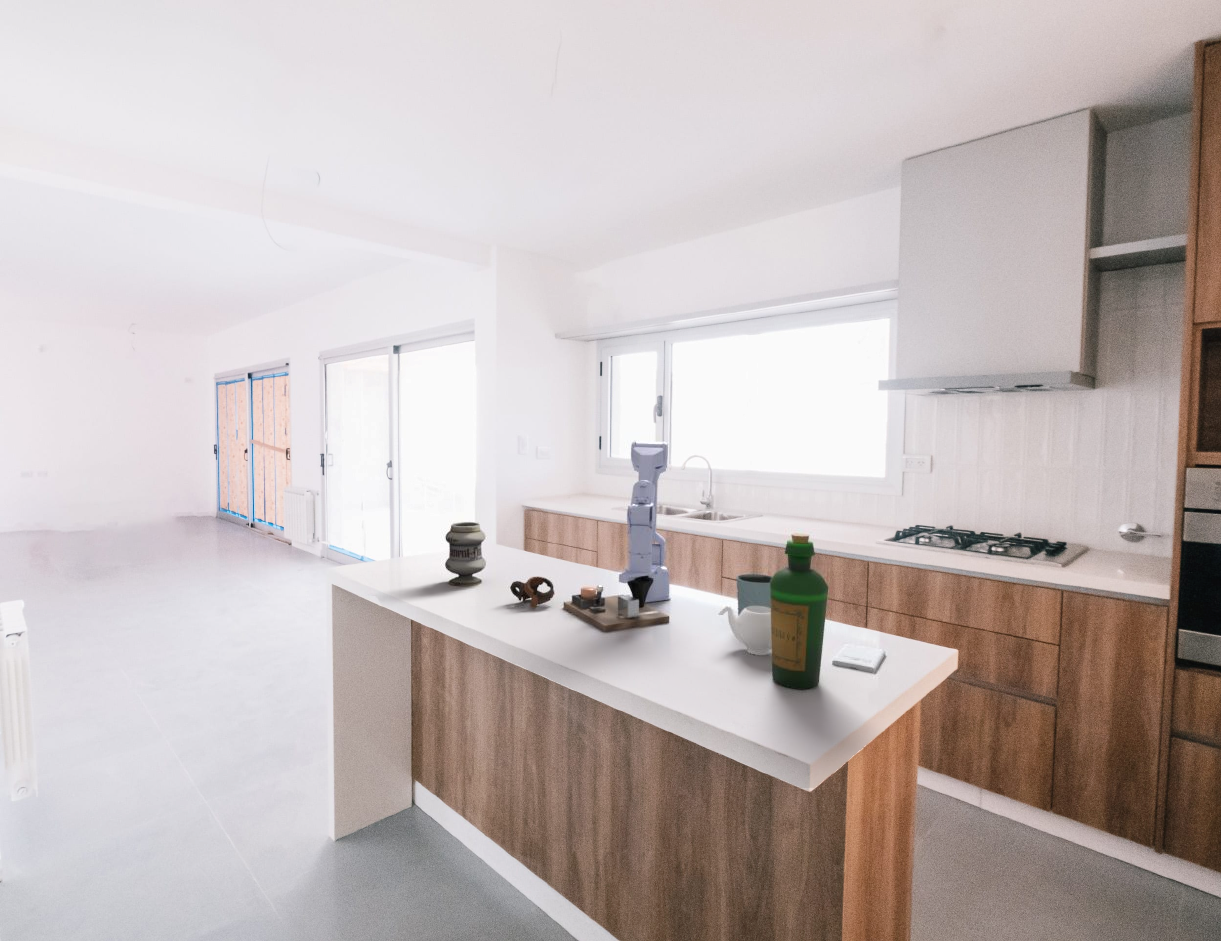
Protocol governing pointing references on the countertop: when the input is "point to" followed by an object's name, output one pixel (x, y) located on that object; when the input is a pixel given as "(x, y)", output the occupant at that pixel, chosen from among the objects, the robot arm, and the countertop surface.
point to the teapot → (752, 628)
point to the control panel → (612, 614)
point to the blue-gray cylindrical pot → (753, 591)
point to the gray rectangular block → (628, 606)
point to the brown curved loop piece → (533, 591)
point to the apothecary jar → (465, 553)
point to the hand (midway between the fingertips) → (639, 606)
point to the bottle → (797, 617)
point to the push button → (588, 593)
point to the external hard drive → (859, 657)
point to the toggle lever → (598, 596)
